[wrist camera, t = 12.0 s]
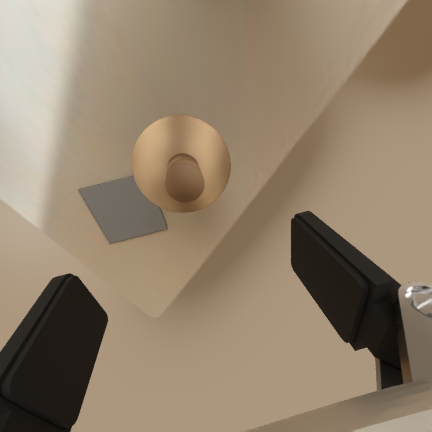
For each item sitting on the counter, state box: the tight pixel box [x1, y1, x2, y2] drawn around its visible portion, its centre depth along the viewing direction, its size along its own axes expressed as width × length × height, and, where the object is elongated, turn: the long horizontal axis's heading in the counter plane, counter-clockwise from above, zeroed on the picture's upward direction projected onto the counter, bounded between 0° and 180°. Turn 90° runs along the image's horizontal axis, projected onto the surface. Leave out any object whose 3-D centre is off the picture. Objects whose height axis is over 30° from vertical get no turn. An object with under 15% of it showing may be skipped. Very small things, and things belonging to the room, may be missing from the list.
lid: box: [132, 115, 231, 213], centre depth 21 cm, size 11×11×6 cm
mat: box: [78, 176, 167, 244], centre depth 39 cm, size 12×12×1 cm
